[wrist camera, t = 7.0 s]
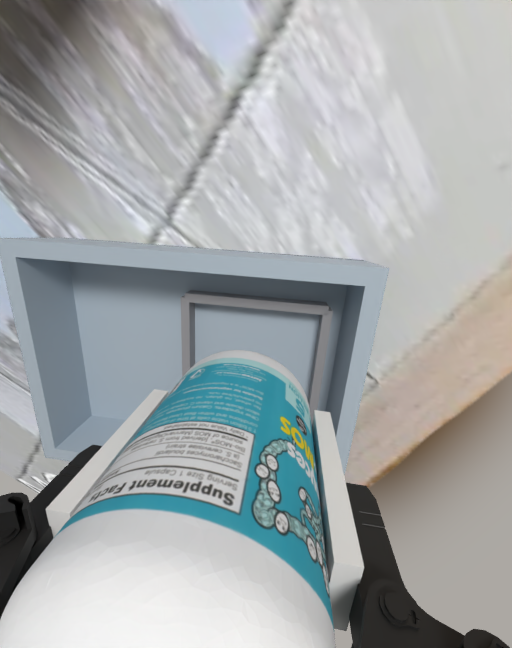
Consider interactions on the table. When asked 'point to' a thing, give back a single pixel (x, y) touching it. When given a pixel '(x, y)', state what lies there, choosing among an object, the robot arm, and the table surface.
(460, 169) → the table surface
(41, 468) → the table surface
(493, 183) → the table surface
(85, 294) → the shallow open gray tray
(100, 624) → the pill bottle
